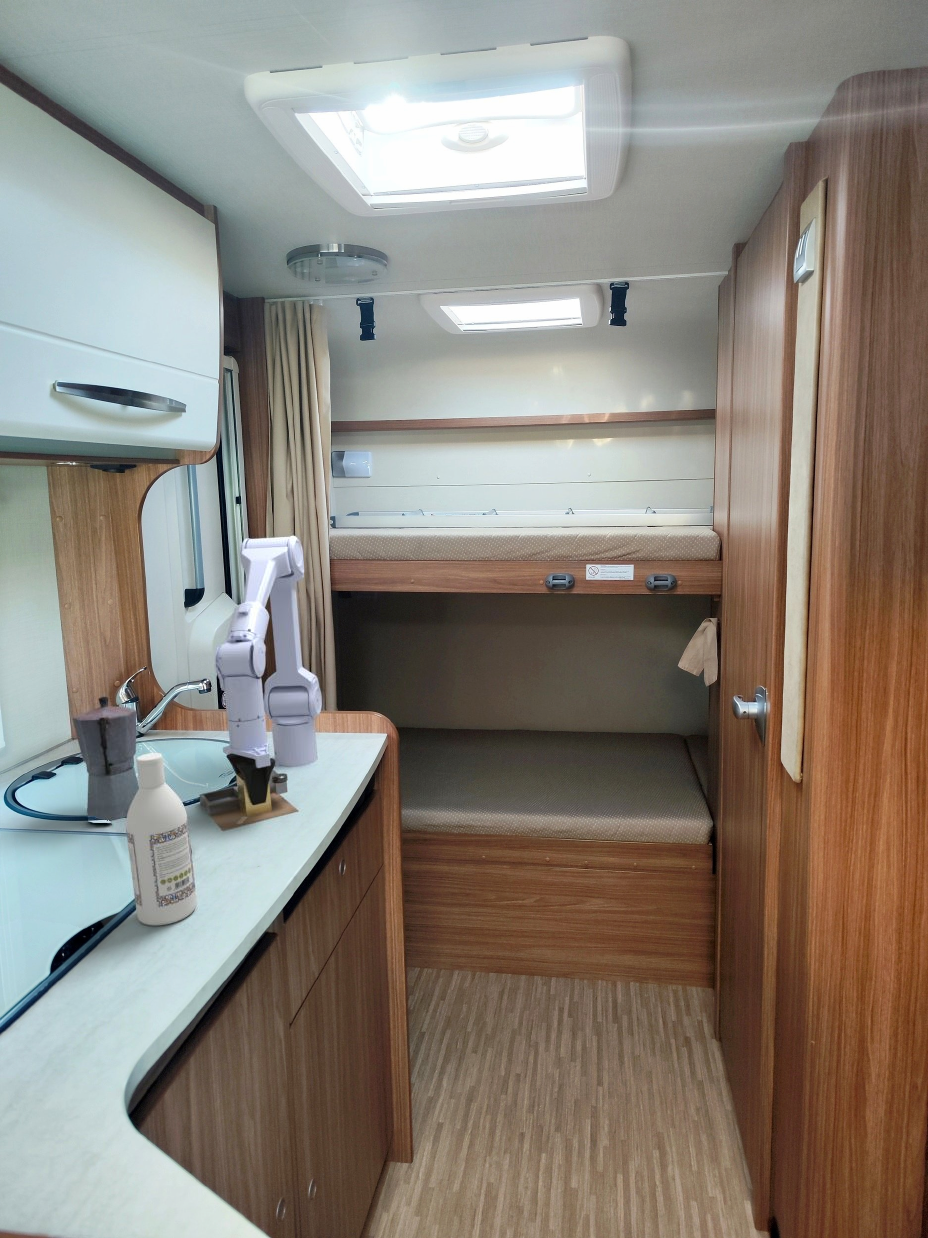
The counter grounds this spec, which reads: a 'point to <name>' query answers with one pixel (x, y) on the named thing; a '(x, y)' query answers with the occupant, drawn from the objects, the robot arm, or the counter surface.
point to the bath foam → (159, 848)
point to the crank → (278, 783)
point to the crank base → (228, 812)
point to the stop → (245, 801)
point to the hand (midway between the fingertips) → (254, 799)
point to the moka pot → (108, 758)
